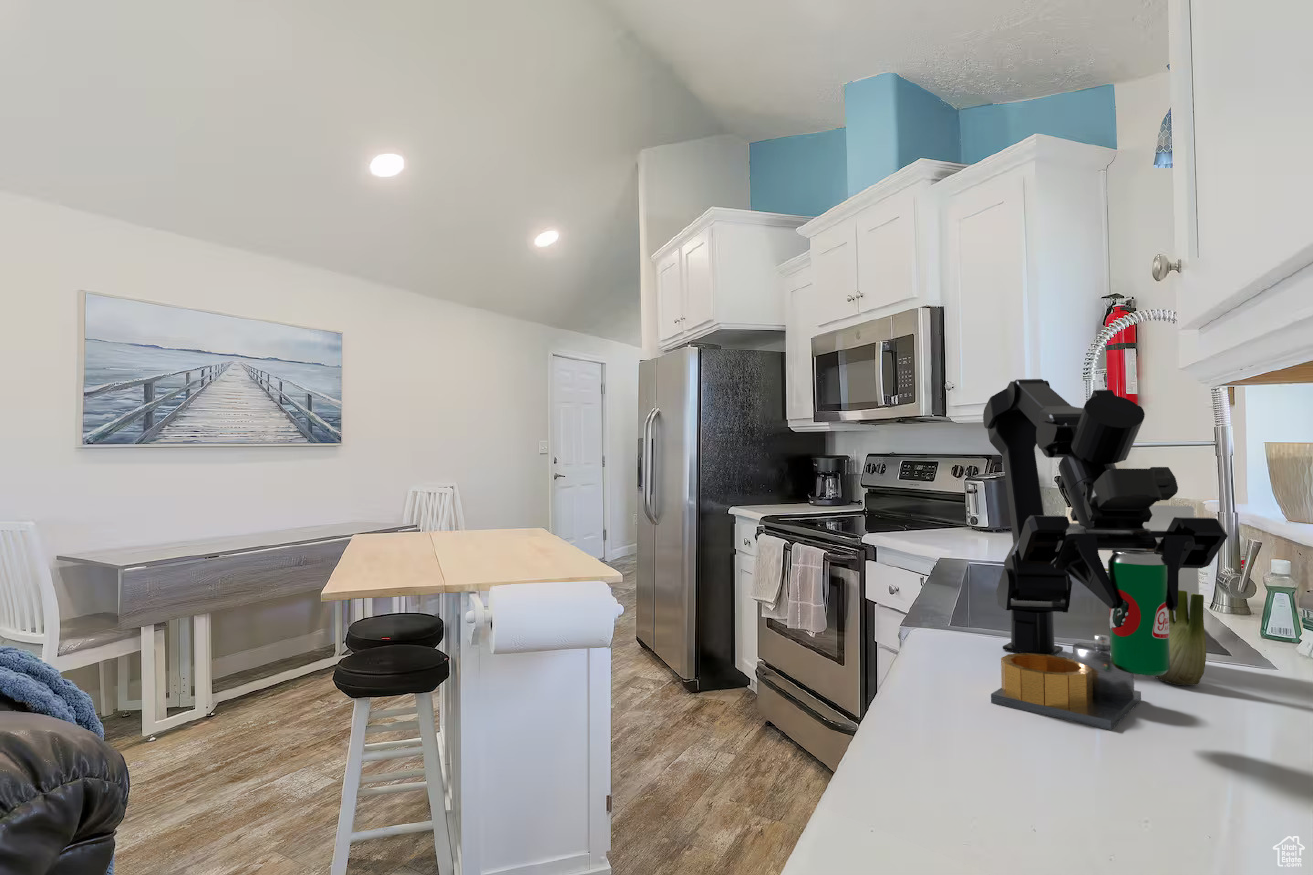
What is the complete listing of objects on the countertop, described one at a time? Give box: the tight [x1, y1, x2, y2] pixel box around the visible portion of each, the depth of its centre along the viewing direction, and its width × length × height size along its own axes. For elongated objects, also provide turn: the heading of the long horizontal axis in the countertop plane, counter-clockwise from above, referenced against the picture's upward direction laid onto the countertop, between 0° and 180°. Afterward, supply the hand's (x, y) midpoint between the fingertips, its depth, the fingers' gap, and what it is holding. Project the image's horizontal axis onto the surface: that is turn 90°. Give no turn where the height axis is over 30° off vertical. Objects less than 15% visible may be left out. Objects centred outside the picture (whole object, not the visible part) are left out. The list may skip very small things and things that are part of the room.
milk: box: [1143, 504, 1200, 621], centre depth 98 cm, size 6×6×22 cm
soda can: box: [1107, 549, 1170, 677], centre depth 72 cm, size 5×5×12 cm
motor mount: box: [990, 634, 1142, 731], centre depth 82 cm, size 14×12×8 cm
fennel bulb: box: [1155, 590, 1207, 686], centre depth 90 cm, size 6×5×12 cm
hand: (1144, 607), depth 71 cm, fingers closed on soda can, 5 cm apart
